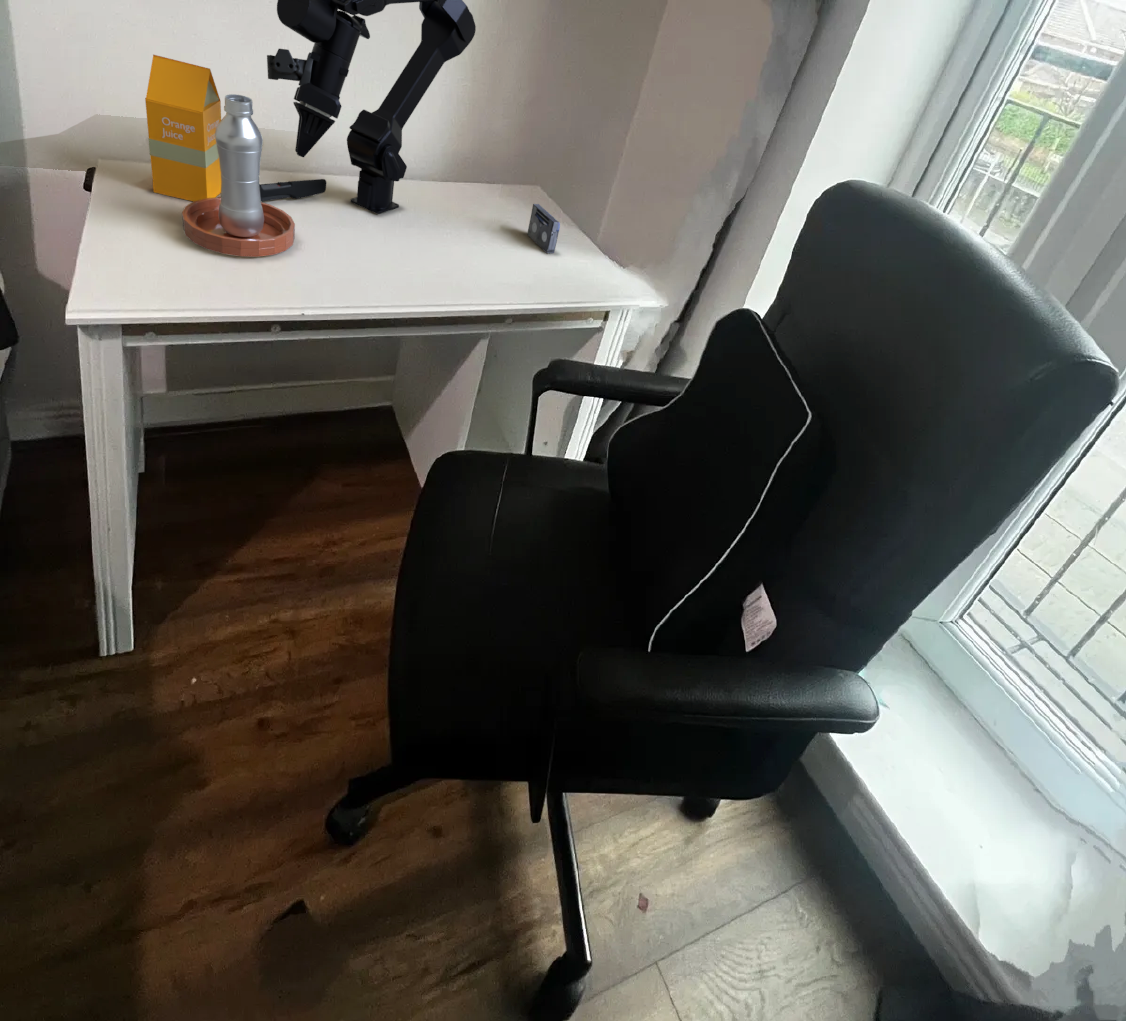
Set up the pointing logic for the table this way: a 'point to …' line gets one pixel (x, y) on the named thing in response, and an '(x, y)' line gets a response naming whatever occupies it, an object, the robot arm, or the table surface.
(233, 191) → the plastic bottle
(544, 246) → the mini dv tape
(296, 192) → the electric trimmer
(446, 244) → the table surface
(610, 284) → the table surface
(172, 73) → the orange juice
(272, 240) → the bowl
